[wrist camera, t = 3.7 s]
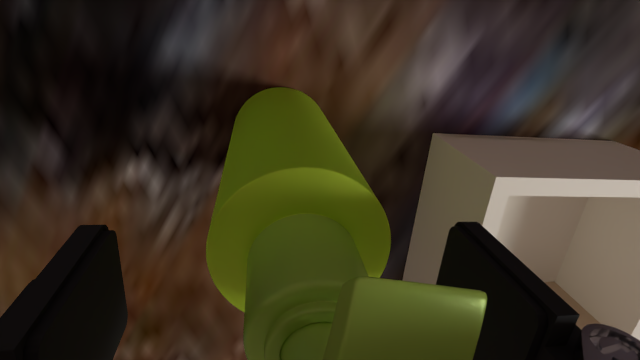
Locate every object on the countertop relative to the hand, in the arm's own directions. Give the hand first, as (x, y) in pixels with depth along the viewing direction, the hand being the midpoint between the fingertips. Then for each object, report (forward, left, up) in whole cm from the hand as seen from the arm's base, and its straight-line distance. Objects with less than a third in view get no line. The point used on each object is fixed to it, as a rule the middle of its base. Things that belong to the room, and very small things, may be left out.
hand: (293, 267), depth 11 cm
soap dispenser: (0, 0, -15) cm, 15 cm away
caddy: (+12, +17, -14) cm, 26 cm away
